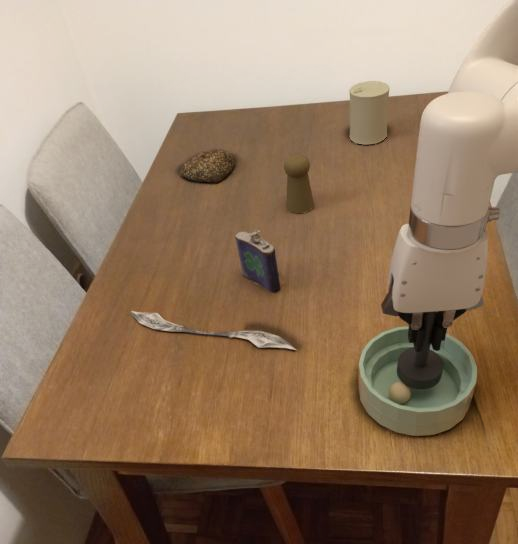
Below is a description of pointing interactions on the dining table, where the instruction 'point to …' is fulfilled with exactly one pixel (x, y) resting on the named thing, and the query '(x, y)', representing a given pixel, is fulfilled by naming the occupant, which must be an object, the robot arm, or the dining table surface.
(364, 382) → the bowl
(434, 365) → the peg on round base
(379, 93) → the can
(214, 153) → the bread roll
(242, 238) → the flask
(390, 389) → the dough ball
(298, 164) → the olive brown pawn
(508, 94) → the robot arm
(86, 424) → the dining table surface
